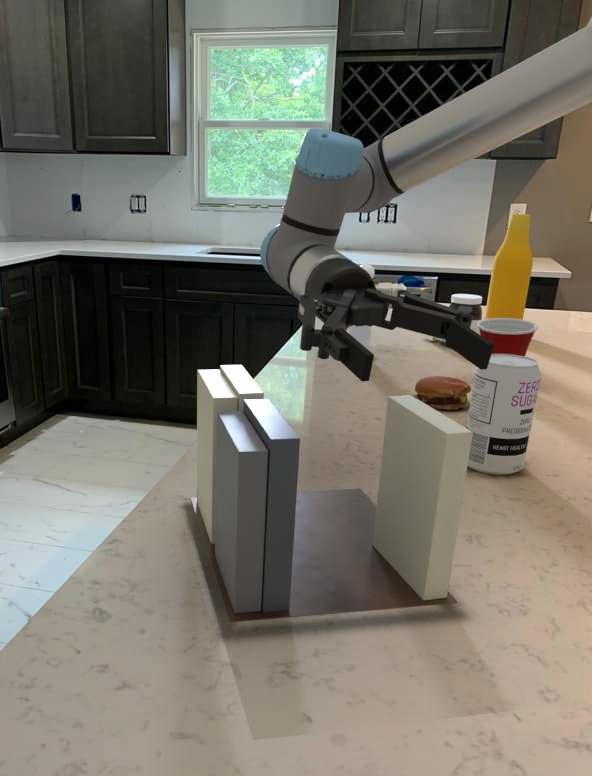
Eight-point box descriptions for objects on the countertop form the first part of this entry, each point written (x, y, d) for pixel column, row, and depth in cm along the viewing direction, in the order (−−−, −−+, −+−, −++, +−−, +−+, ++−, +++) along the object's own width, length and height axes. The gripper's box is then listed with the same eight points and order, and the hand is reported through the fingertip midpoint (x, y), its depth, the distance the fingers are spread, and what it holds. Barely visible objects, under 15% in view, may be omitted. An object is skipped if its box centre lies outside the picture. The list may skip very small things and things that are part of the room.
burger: (417, 394, 134) (420, 369, 132) (469, 400, 131) (473, 375, 129) (410, 409, 125) (413, 382, 124) (466, 416, 123) (470, 389, 121)
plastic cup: (457, 384, 141) (466, 321, 137) (484, 374, 148) (494, 315, 144) (510, 396, 134) (522, 330, 130) (536, 386, 141) (548, 323, 137)
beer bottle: (474, 334, 187) (493, 213, 176) (493, 329, 193) (512, 213, 181) (508, 340, 181) (529, 215, 169) (526, 335, 186) (548, 215, 175)
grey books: (262, 550, 74) (268, 398, 68) (289, 610, 64) (300, 438, 58) (214, 554, 73) (216, 400, 67) (234, 614, 63) (239, 440, 57)
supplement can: (468, 452, 106) (485, 350, 101) (528, 463, 103) (548, 358, 97) (453, 469, 100) (470, 361, 94) (516, 482, 96) (537, 370, 90)
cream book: (393, 542, 76) (410, 394, 70) (447, 597, 66) (473, 431, 60) (371, 545, 76) (387, 396, 69) (423, 601, 66) (447, 433, 60)
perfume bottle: (351, 354, 162) (359, 261, 155) (375, 358, 160) (385, 263, 152) (340, 359, 158) (347, 263, 150) (364, 363, 155) (373, 266, 147)
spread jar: (479, 351, 168) (487, 300, 163) (429, 348, 170) (435, 297, 165) (472, 341, 179) (479, 292, 174) (425, 338, 180) (431, 290, 176)
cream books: (237, 498, 86) (241, 364, 80) (257, 541, 76) (264, 392, 70) (196, 500, 85) (197, 365, 79) (211, 544, 75) (213, 394, 69)
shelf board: (359, 499, 90) (360, 488, 89) (455, 616, 66) (458, 602, 66) (189, 509, 86) (189, 497, 86) (228, 636, 63) (229, 622, 62)
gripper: (415, 312, 93) (522, 385, 77) (232, 324, 85) (308, 409, 69) (428, 253, 89) (544, 317, 73) (237, 260, 81) (319, 335, 65)
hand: (429, 362), depth 71 cm, fingers open, 13 cm apart
